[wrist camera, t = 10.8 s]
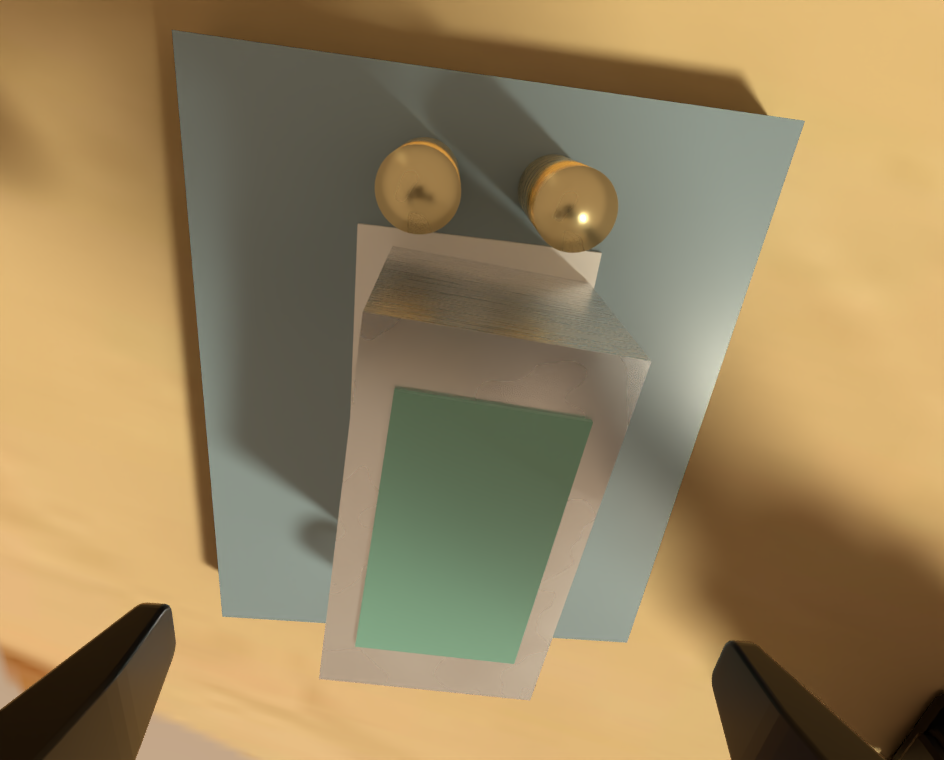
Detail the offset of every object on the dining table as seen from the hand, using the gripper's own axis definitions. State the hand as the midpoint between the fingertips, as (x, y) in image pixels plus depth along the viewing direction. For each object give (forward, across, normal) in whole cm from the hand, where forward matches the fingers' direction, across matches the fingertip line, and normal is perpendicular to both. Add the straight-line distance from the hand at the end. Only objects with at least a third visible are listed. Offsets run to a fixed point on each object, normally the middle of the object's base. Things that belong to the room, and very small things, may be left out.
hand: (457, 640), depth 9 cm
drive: (+8, 0, 0) cm, 8 cm away
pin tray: (+9, 0, 0) cm, 9 cm away
